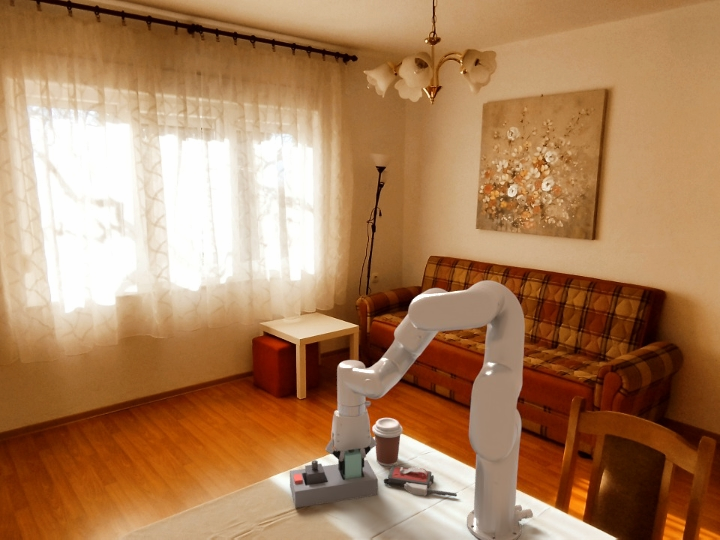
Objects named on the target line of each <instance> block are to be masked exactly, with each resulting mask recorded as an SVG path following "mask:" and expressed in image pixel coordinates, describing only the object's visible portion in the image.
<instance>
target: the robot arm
mask: <svg viewBox="0 0 720 540" xmlns="http://www.w3.org/2000/svg"><path fill="white" fill-rule="evenodd" d="M520 303H521V302H520V301H519V300H518V298H517V296H516V295H515V294H514V292H512V291H511V290H510V289H509V288H508V287H507V286H505V285H504V284H502V283H500V282H497V281H495V280H487V279H486V280H481V281H478V282H476V283H475V284H473V285H471V286H470V287H469V288H468V289H464V290H457V291H456V290H455V291H449V292H448V291H447V290H445V289H443V288H439V287H433V288H429V289H427V290H425V291H423V292H422V293H420V294H418V295H417V296H415V297H414V298H413V299H412V300H411V302H410V304H409V306H408V309H407V310H408V311H407V314H406V316H405V317H404V318H403V319H402V320H401V322H400V324H398V326H397V327H396V328H395V330H394V333H393V336H394V340H393V341H392V343H391V345H390V346H389V348H388V349H387V351H386V352H385V353H384V354H383V355H382V357H381V358H380V359H379V360H378V361H377V362H375V363H374V364H373V365H372V366H370V367H366V365H365V364H364V362H362V361H359V360H356V359H347V360H343V361H341V362H340V363H339V364H338V365H337V369H336V371H337V372H336V376H337V377H336V379H337V381H336V385H337V386H336V390H337V391H336V393H337V396H336V397H337V401H336V402H337V403H336V405H337V407H336V409H337V410H334V411H333V416H332V422H331V423H332V426H331V435H330V436H331V439H330V440H329V442H328V443H327V445H326V446H325V448H324V449H325V451H326V452H327V453H328V454H331V455H333V457H335V458H336V459H338V463H337V464H338V468H339V471H341V472H342V475H345V461H344V454H345V450H352V449H359V451H360V452H361V472H363V467H364V460H365V458H366V457H367V455H368V454H369V452H371V450H372V449H373V448H376V445H377V443H376V441H375V437H373V436H372V434H371V425H370V423H371V422H370V416H369V413H368V412H369V411H368V409H367V408H368V407H371V405H372V404H371V403H372V402H371V401H370V400H366V398H368V399H371V400H377V399H380V398H382V397H384V396H385V395H386V394H387V393H388V392H389V391H390V390H391V389H392V388H394V386H396V385H397V384H398V382H400V380H401V379H402V378H403V376H404V375H405V374H406V373H407V371H408V370H409V369H410V367H412V365H413V364H414V363H415V362H416V360H417V359H418V358H419V356H421V355H422V354H423V352H424V351H425V349H426V348H427V347H428V346H429V344H430V343H431V342H432V341H433V339H434V337H436V336H437V334H438V333H439V332H445V331H446V332H447V331H448V332H449V331H459V330H470V329H478V328H482V327H484V326H486V332H485V333H486V334H485V342H484V344H485V345H484V359H483V365H482V368H481V369H480V371H479V372H478V375H477V376H476V378H475V380H474V382H473V385H472V389H471V395H470V396H471V397H470V410H469V411H470V412H469V424H468V425H469V426H468V427H469V428H468V438H469V443H470V445H471V446H470V447H471V448H472V450H473V451H474V452H475V454H476V455H475V475H474V497H473V498H474V500H473V510H471V511H470V512H469V513H468V515H467V516H466V526H467V528H468V530H469V532H470V533H471V534H472V535H473V536H475V538H478V539H479V540H518V538H519V539H520V537H521V532H522V527H521V524H520V522H521V521H522V520H523V519H530V518H533V517H534V513H533V511H532V509H531V508H527V509H523V508H522V506H521V504H517V505H516V502H517V500H516V498H517V484H518V483H517V481H518V468H519V454H520V442H521V434H522V418H521V415H520V412H519V410H518V409H517V404H518V399H519V396H520V393H521V391H522V387H523V368H524V357H525V356H524V355H525V349H524V348H525V334H526V333H525V332H526V331H525V329H526V324H525V315H524V310H523V307H522V306H521V304H520Z"/></svg>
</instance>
